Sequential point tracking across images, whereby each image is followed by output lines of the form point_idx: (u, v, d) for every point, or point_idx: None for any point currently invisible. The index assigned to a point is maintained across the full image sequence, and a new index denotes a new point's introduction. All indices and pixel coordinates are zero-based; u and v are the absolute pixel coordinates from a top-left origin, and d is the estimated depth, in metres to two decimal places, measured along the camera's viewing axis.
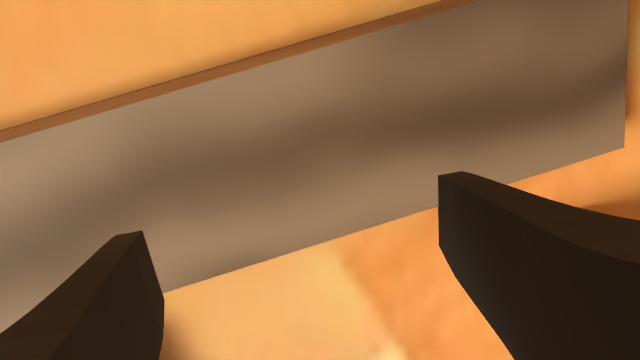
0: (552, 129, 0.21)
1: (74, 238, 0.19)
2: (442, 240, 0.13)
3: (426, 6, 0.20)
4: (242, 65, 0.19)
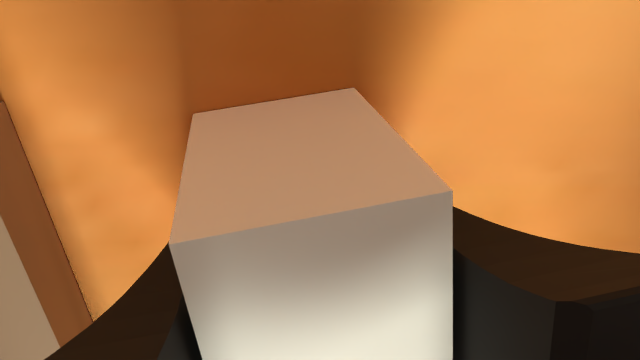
0: None
1: None
2: None
3: None
4: None
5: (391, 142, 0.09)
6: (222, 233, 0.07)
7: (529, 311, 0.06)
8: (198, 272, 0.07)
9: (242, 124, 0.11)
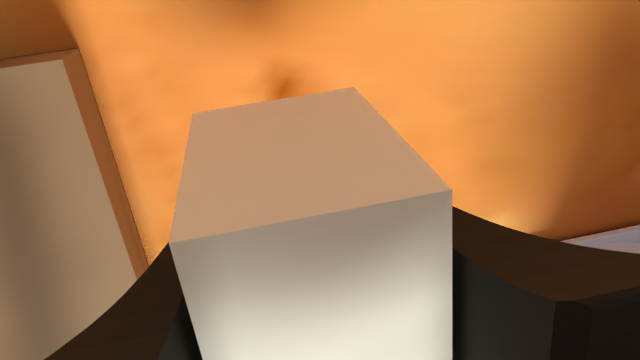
0: (35, 167, 0.17)
1: None
2: None
3: None
4: None
5: (391, 141, 0.09)
6: (222, 232, 0.07)
7: (529, 311, 0.06)
8: (198, 271, 0.07)
9: (242, 123, 0.11)
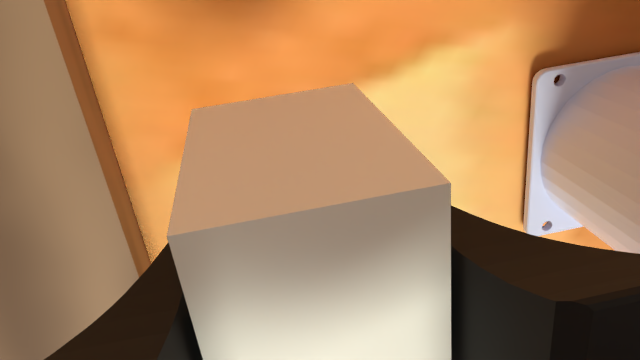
0: None
1: None
2: None
3: None
4: None
5: (390, 136, 0.09)
6: (220, 225, 0.07)
7: (529, 311, 0.06)
8: (196, 264, 0.07)
9: (241, 119, 0.11)
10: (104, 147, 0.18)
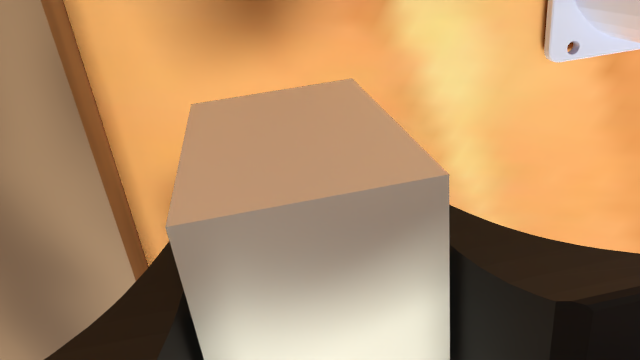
0: None
1: (13, 255, 0.17)
2: None
3: None
4: None
5: (388, 129, 0.09)
6: (219, 216, 0.07)
7: (529, 311, 0.06)
8: (195, 255, 0.07)
9: (240, 113, 0.11)
10: None
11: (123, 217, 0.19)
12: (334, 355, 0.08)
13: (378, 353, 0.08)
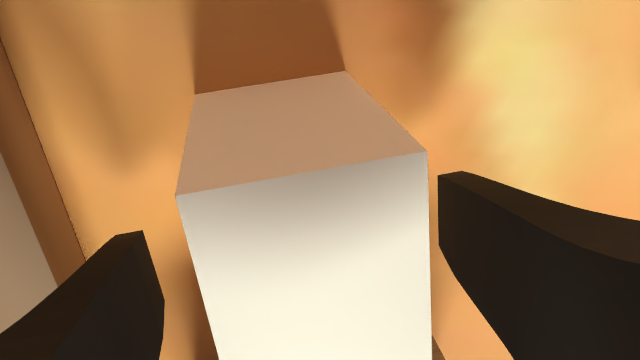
0: None
1: None
2: (442, 240, 0.13)
3: None
4: None
5: (376, 114, 0.10)
6: (222, 186, 0.08)
7: None
8: (201, 222, 0.08)
9: (240, 102, 0.12)
10: None
11: None
12: (325, 317, 0.09)
13: (365, 315, 0.09)
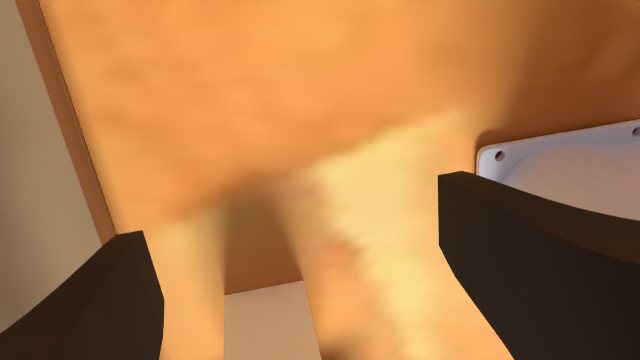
0: None
1: None
2: (442, 240, 0.13)
3: None
4: None
5: (309, 332, 0.22)
6: None
7: None
8: None
9: (248, 308, 0.24)
10: (101, 216, 0.21)
11: None
12: None
13: None
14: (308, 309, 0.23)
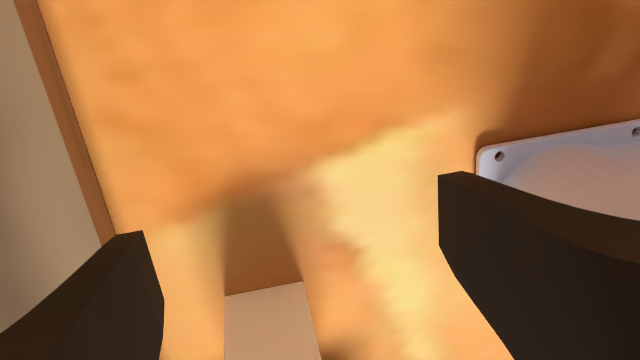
0: None
1: None
2: (441, 240, 0.13)
3: None
4: None
5: (309, 333, 0.22)
6: None
7: None
8: None
9: (248, 309, 0.24)
10: (101, 217, 0.21)
11: None
12: None
13: None
14: (308, 310, 0.23)
